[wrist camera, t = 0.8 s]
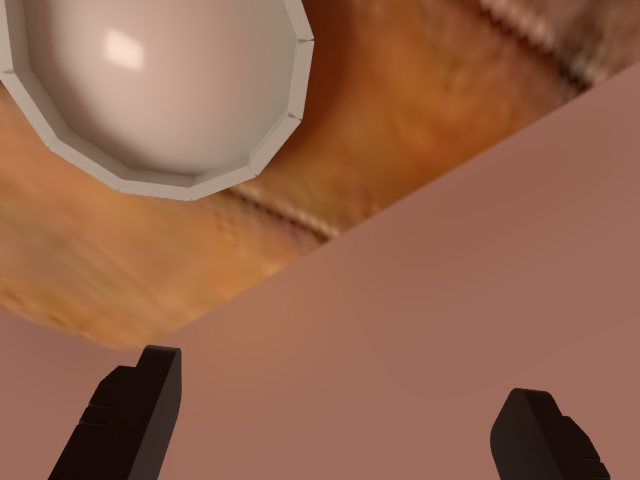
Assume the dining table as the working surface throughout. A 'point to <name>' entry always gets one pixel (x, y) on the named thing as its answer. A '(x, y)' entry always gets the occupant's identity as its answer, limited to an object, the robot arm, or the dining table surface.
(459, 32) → the dining table surface
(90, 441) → the robot arm
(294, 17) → the round tray
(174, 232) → the dining table surface
